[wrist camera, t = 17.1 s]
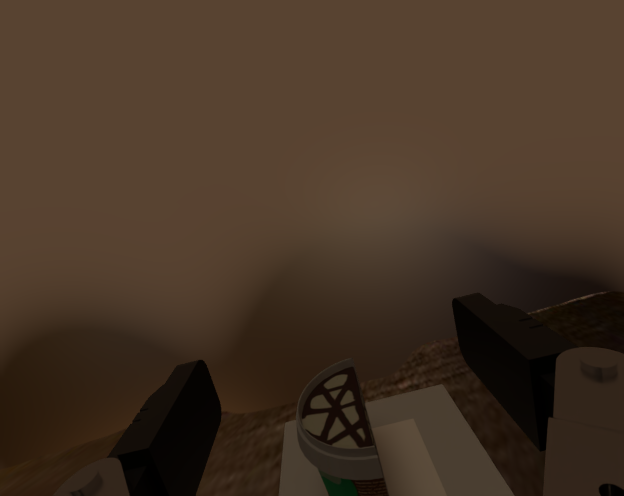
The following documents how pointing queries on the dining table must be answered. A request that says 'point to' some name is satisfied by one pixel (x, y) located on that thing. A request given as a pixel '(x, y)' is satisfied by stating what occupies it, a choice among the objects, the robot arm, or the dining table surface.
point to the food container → (339, 433)
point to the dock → (409, 451)
